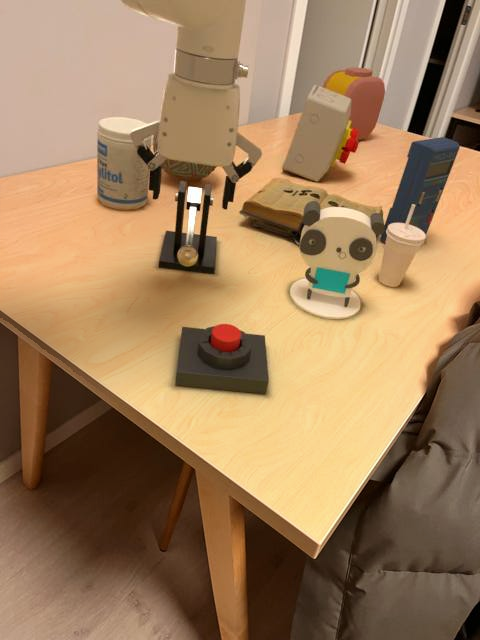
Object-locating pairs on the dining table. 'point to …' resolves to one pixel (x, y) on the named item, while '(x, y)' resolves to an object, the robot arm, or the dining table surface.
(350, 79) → the alarm clock
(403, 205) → the electronic device
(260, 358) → the push button box
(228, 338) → the stop button
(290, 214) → the book
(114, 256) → the dining table surface
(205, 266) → the switch bracket
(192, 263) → the lever
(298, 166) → the electrical switch box
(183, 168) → the decorative sphere
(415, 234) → the smoothie
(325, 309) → the panda figurine
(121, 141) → the supplement tub
